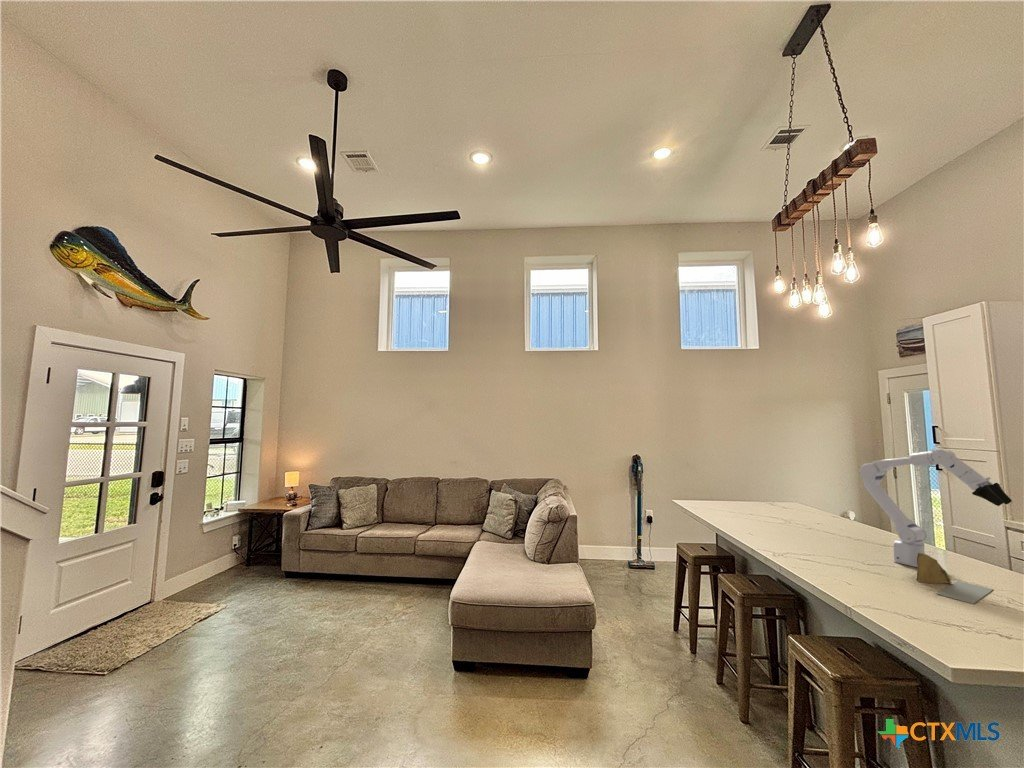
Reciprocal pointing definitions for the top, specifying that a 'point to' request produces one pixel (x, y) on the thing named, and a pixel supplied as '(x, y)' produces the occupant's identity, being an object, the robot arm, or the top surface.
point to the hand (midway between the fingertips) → (1005, 503)
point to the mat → (965, 592)
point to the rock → (930, 570)
